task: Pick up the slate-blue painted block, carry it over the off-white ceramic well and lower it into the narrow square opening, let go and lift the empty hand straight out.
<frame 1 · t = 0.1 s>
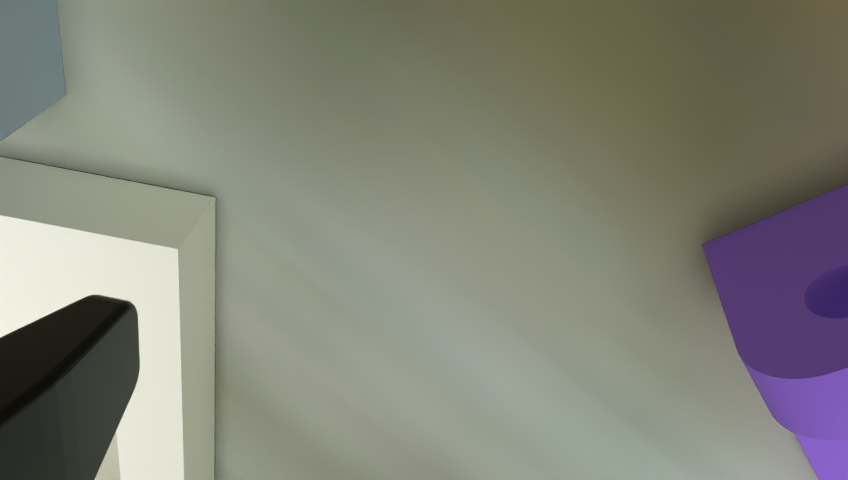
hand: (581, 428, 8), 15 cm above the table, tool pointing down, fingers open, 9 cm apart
well: (50, 335, 28), on the table
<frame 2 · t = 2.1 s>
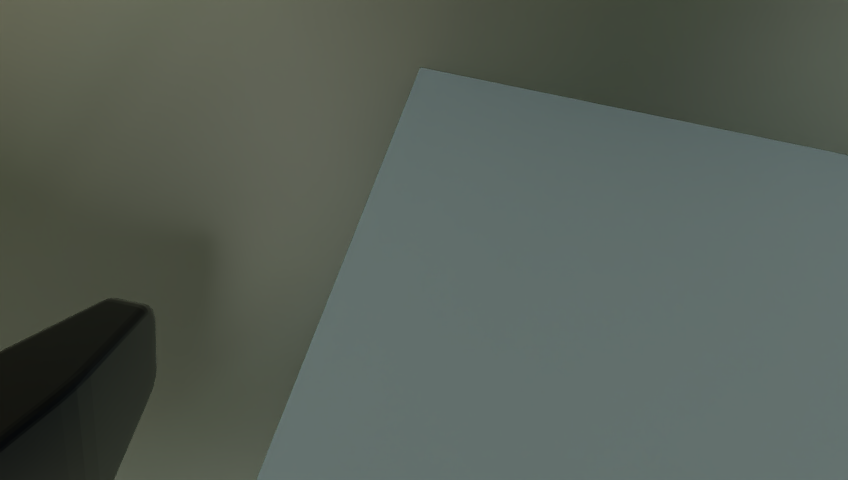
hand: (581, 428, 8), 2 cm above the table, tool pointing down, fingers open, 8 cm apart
block: (595, 311, 9), on the table
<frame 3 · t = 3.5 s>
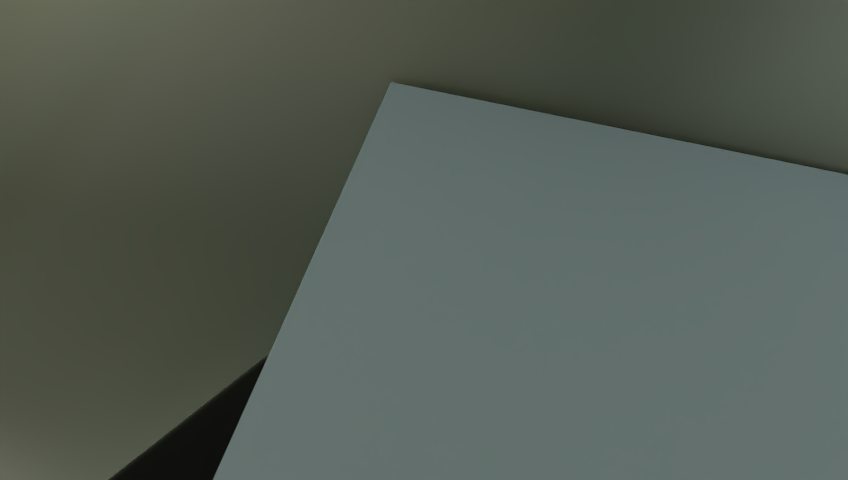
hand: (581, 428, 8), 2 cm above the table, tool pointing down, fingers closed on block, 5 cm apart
block: (574, 330, 9), on the table, touching gripper
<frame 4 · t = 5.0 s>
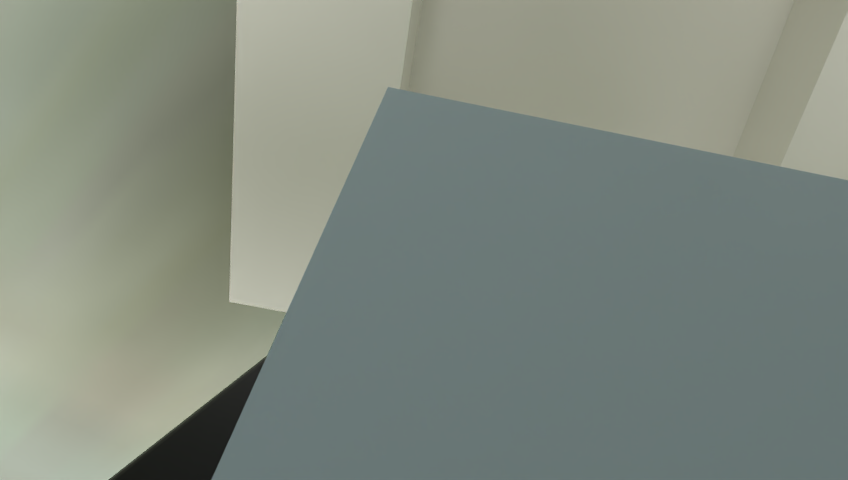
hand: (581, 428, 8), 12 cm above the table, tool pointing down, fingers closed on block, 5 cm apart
well: (582, 68, 18), on the table
block: (572, 335, 9), point 10 cm above the table, touching gripper
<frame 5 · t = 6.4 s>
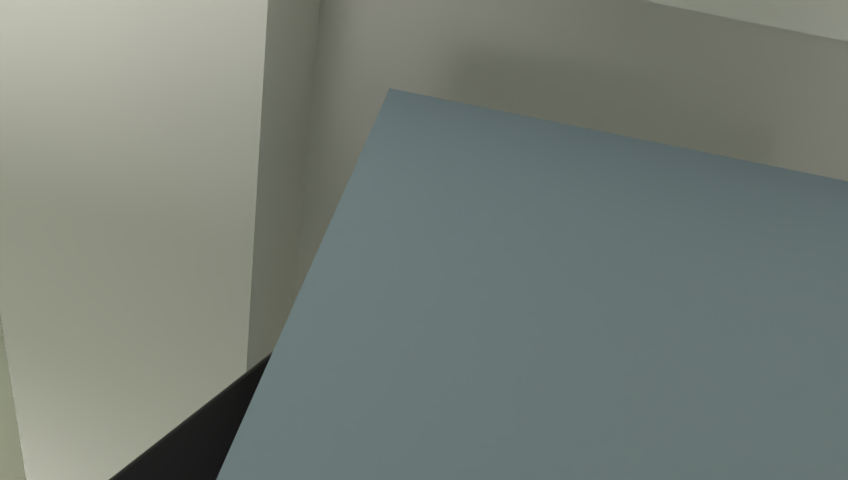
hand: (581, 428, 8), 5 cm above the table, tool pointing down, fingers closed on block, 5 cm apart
well: (559, 202, 12), on the table
block: (573, 336, 9), point 3 cm above the table, touching gripper
when the fingers open (4 cm above the table, at t = 7.4 s): block drops 2 cm, resting on well.
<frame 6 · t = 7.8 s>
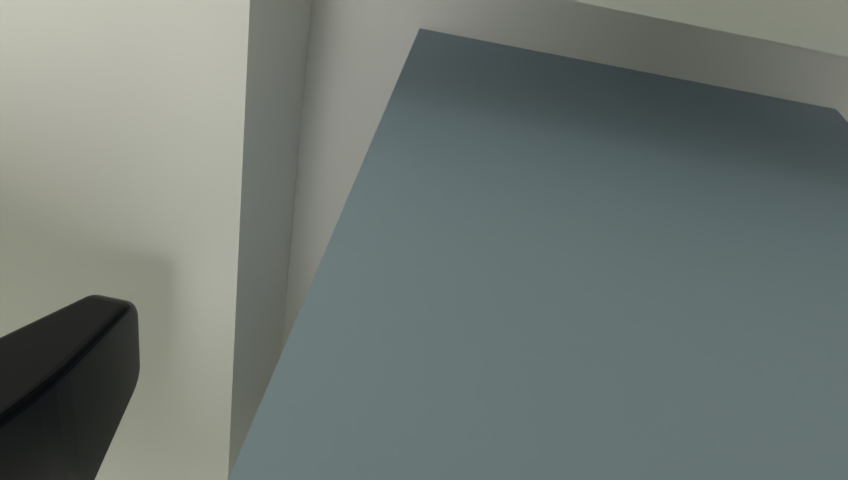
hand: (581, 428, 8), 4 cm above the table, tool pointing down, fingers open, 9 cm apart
well: (565, 224, 11), on the table
block: (572, 244, 11), resting on well
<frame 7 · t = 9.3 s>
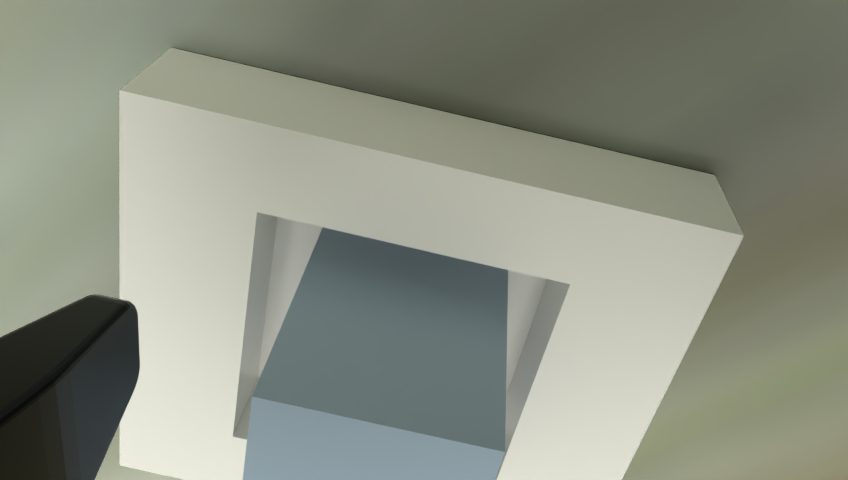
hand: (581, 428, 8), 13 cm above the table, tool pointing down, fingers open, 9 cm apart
well: (400, 300, 23), on the table
block: (401, 310, 22), resting on well
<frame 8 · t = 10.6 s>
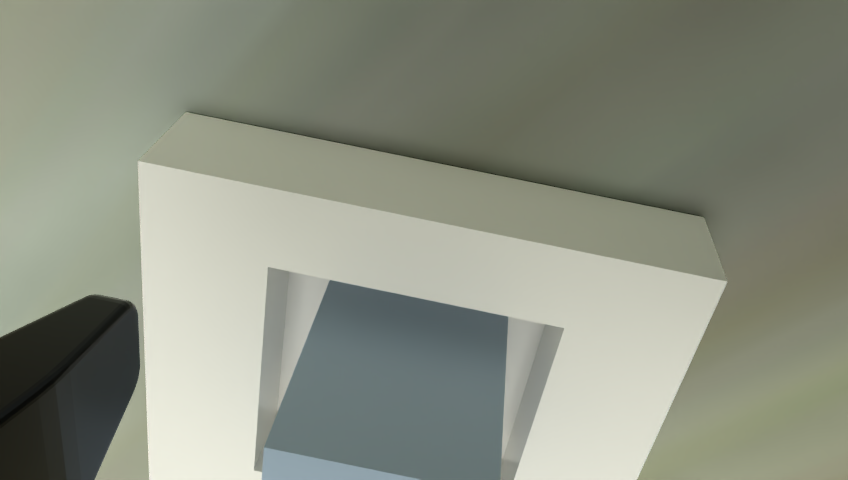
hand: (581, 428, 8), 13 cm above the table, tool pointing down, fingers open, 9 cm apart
well: (409, 337, 24), on the table
block: (409, 348, 24), resting on well
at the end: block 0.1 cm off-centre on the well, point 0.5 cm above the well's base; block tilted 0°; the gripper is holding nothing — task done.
